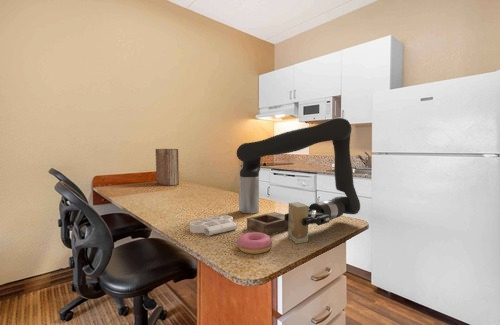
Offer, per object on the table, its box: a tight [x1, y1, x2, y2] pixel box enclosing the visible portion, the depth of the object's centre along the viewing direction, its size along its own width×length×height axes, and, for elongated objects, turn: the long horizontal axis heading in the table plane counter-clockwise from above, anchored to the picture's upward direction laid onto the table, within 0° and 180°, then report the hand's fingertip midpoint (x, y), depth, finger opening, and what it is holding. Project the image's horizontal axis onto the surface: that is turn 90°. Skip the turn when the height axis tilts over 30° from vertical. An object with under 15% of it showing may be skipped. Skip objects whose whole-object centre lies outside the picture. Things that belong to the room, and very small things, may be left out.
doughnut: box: [236, 231, 273, 255], centre depth 80 cm, size 11×11×4 cm
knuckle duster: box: [189, 214, 238, 237], centre depth 99 cm, size 3×18×15 cm
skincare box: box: [287, 201, 310, 244], centre depth 86 cm, size 6×4×12 cm
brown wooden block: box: [155, 148, 180, 187], centre depth 218 cm, size 25×9×30 cm, turn 41°
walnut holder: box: [246, 211, 288, 237], centre depth 99 cm, size 11×15×4 cm
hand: (294, 219), depth 85 cm, fingers closed on skincare box, 7 cm apart
